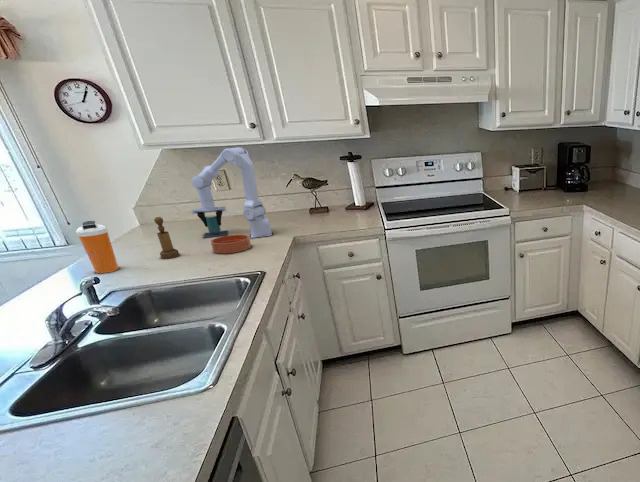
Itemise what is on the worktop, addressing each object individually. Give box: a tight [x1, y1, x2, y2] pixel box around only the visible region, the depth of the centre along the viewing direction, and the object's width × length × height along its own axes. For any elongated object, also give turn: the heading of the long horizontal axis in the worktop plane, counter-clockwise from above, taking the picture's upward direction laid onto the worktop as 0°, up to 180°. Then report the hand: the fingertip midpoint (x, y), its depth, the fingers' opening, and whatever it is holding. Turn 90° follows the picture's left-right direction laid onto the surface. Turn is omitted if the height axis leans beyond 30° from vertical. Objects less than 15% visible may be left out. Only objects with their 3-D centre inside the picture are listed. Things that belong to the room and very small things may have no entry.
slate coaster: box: [203, 230, 228, 239], centre depth 217 cm, size 10×10×1 cm
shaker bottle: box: [75, 220, 120, 274], centre depth 164 cm, size 9×9×20 cm
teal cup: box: [205, 214, 222, 233], centre depth 214 cm, size 5×5×8 cm
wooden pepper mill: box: [153, 216, 180, 260], centre depth 180 cm, size 7×6×18 cm
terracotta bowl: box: [210, 234, 252, 254], centre depth 192 cm, size 15×15×5 cm
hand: (213, 225), depth 215 cm, fingers closed on teal cup, 5 cm apart
